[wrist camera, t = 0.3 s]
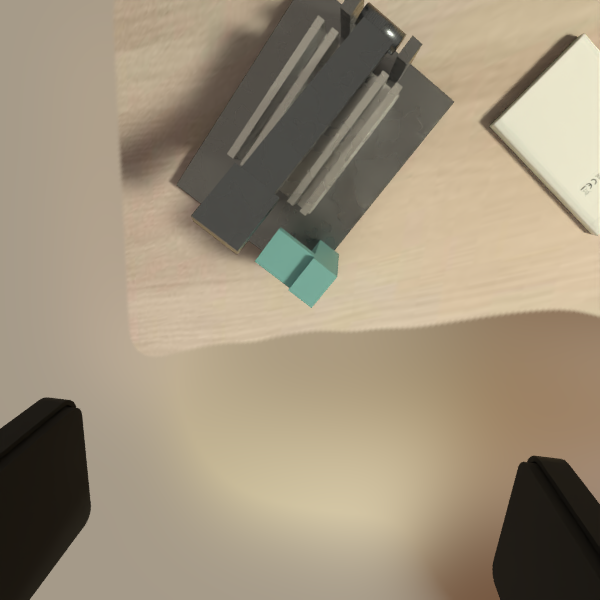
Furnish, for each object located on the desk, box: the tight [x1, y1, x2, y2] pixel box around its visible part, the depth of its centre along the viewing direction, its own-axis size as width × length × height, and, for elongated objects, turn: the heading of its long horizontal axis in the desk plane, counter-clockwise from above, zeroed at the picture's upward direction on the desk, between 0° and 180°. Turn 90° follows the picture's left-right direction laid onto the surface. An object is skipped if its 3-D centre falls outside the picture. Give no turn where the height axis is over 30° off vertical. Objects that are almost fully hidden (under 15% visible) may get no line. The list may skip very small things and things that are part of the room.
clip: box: [255, 228, 339, 308], centre depth 32 cm, size 3×5×8 cm, turn 53°
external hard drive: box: [490, 34, 600, 236], centre depth 32 cm, size 2×8×12 cm
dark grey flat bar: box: [191, 3, 406, 254], centre depth 25 cm, size 18×3×1 cm, turn 143°
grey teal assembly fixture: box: [177, 0, 454, 251], centre depth 31 cm, size 18×14×7 cm
